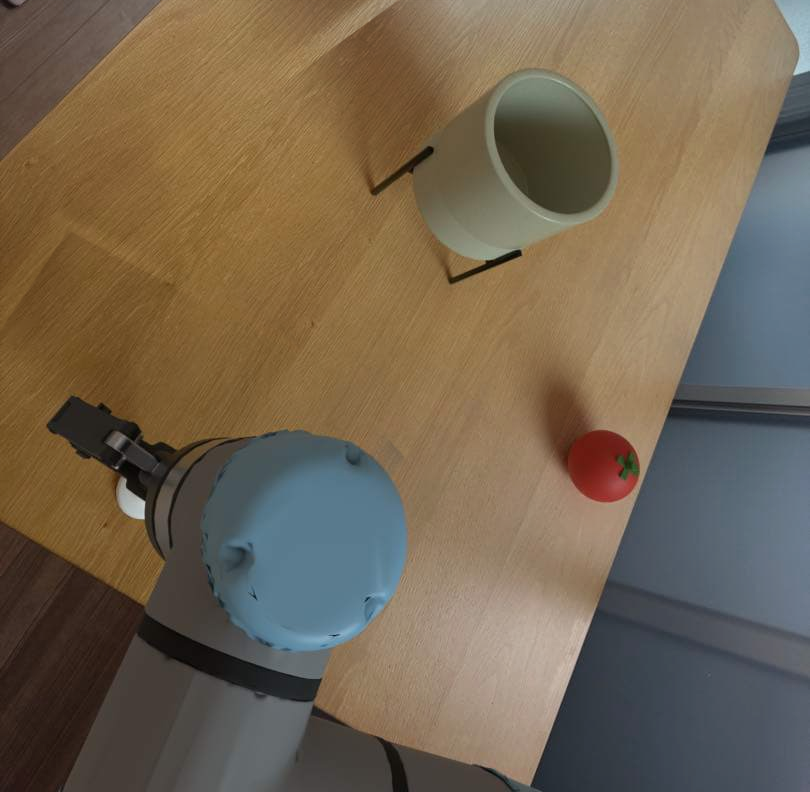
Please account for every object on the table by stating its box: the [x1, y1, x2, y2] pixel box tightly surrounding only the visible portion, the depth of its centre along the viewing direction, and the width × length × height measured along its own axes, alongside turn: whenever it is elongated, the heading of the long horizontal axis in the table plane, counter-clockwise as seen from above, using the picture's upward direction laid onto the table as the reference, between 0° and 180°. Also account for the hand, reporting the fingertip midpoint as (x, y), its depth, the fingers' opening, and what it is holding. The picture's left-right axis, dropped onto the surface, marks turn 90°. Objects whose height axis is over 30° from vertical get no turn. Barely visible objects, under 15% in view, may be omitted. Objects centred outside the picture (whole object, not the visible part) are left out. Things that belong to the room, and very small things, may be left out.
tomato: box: [567, 429, 641, 504], centre depth 83 cm, size 8×8×9 cm
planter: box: [370, 67, 620, 285], centre depth 76 cm, size 15×16×23 cm
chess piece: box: [115, 476, 145, 520], centre depth 61 cm, size 5×5×10 cm
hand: (163, 490), depth 57 cm, fingers open, 13 cm apart
